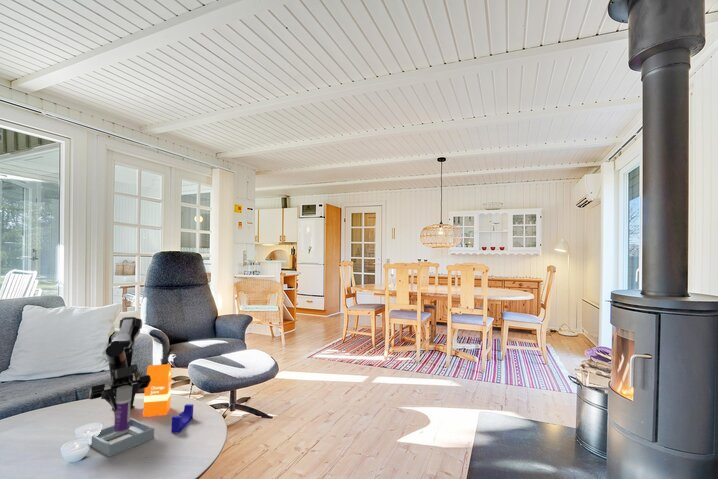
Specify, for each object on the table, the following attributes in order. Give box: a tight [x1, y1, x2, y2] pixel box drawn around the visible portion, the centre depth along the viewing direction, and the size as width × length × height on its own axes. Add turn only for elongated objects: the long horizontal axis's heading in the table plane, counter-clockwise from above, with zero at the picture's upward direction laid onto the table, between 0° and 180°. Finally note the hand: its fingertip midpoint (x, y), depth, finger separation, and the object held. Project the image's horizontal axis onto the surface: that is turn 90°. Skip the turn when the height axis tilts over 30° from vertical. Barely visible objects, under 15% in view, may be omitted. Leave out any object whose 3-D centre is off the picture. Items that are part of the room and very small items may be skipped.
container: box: [113, 385, 132, 433], centre depth 131 cm, size 5×5×15 cm
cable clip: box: [170, 403, 194, 434], centre depth 143 cm, size 12×4×6 cm, turn 2°
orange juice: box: [142, 363, 173, 418], centre depth 154 cm, size 8×9×20 cm
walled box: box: [91, 417, 155, 457], centre depth 130 cm, size 15×15×4 cm
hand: (123, 408), depth 130 cm, fingers closed on container, 5 cm apart
